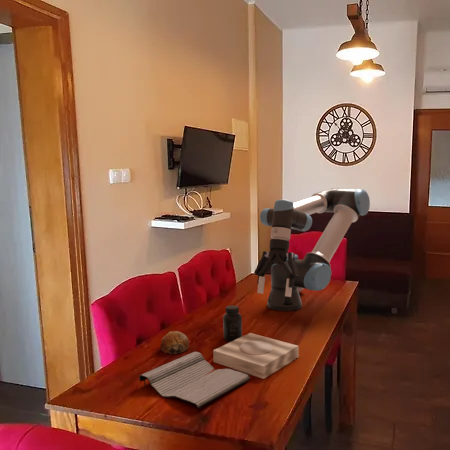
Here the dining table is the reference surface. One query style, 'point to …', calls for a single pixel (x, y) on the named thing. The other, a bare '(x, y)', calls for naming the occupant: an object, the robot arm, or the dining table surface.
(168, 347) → the bread roll
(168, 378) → the mat
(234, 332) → the supplement bottle
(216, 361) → the stand
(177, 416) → the dining table surface
